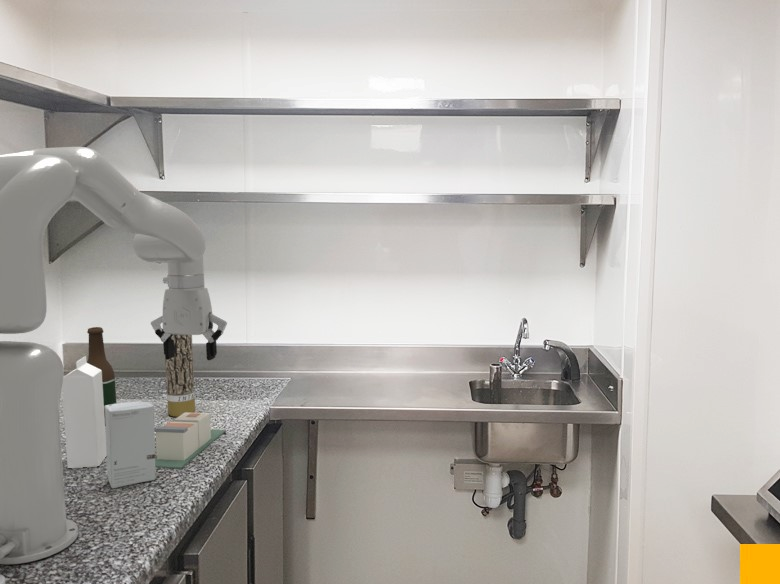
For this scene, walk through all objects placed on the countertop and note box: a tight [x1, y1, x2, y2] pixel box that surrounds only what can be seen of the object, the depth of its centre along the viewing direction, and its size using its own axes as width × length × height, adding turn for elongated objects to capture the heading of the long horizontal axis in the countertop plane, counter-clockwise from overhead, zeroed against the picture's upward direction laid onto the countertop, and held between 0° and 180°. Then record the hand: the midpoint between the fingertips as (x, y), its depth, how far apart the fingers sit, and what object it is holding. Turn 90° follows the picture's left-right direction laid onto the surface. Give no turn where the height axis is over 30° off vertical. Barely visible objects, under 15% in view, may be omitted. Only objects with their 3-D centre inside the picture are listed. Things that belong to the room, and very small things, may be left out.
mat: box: [155, 429, 226, 470], centre depth 138 cm, size 23×8×1 cm, turn 172°
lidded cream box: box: [154, 420, 199, 461], centre depth 133 cm, size 7×7×7 cm
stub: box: [172, 412, 211, 448], centre depth 139 cm, size 6×6×6 cm
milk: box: [61, 355, 107, 469], centre depth 128 cm, size 6×6×22 cm
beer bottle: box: [86, 326, 117, 425], centre depth 155 cm, size 8×8×24 cm
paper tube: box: [164, 335, 196, 418], centre depth 161 cm, size 7×7×25 cm
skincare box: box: [105, 400, 157, 489], centre depth 120 cm, size 8×6×15 cm
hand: (190, 358), depth 139 cm, fingers open, 9 cm apart
